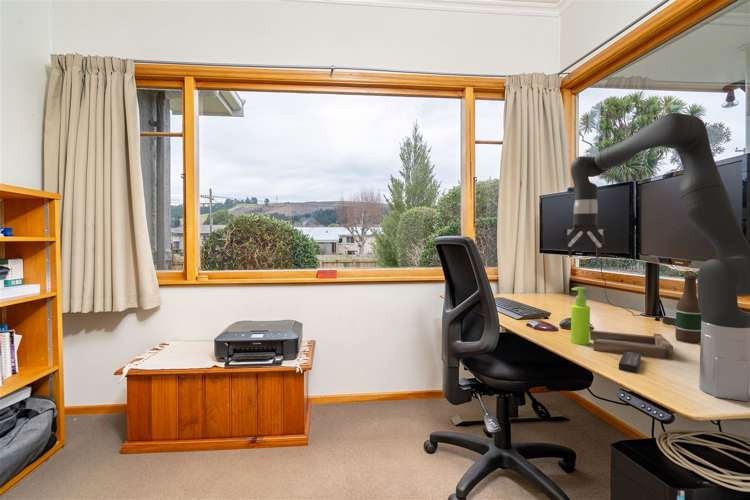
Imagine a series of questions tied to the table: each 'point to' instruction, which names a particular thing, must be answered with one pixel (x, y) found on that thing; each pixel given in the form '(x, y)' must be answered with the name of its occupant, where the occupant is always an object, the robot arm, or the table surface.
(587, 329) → the soap dispenser
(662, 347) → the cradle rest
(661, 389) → the table surface
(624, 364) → the multiport hub
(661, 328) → the table surface
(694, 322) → the beer bottle
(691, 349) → the table surface
